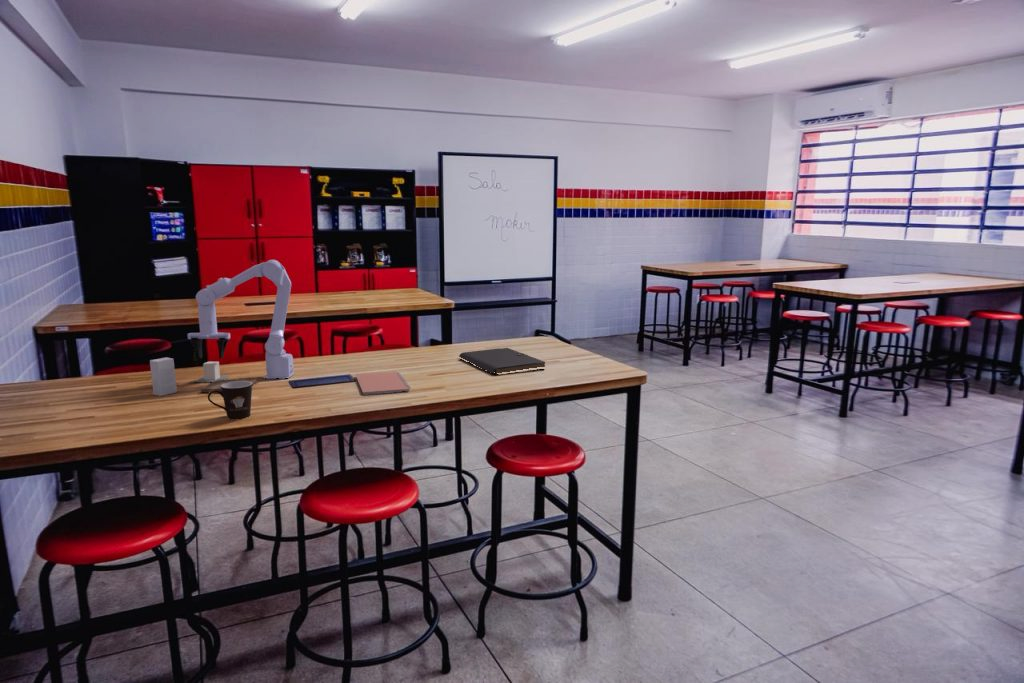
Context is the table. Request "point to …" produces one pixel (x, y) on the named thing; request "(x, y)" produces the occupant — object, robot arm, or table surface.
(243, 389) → the coffee mug
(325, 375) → the table surface
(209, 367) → the cream block
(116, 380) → the table surface
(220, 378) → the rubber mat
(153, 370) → the skincare box
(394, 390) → the notebook
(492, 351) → the dark hardcover book
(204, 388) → the puzzle board
